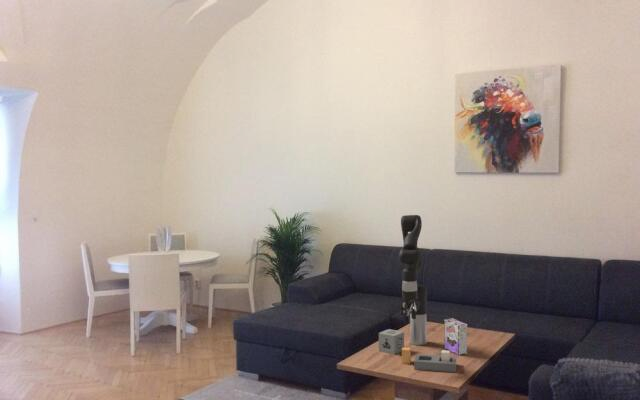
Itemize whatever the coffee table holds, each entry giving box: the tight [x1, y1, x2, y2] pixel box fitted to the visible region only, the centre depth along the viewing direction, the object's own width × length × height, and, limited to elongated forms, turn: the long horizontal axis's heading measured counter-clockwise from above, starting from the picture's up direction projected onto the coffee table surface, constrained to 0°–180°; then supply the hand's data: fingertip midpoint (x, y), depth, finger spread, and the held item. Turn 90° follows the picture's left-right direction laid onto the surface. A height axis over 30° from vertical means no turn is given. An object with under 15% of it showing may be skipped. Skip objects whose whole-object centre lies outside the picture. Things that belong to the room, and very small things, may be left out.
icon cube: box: [378, 328, 405, 355], centre depth 317 cm, size 10×10×10 cm
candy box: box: [443, 317, 468, 356], centre depth 314 cm, size 14×6×16 cm, turn 21°
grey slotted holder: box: [413, 349, 457, 373], centre depth 290 cm, size 12×20×8 cm, turn 75°
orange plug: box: [401, 347, 412, 365], centre depth 297 cm, size 4×4×7 cm
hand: (410, 320), depth 293 cm, fingers open, 8 cm apart
